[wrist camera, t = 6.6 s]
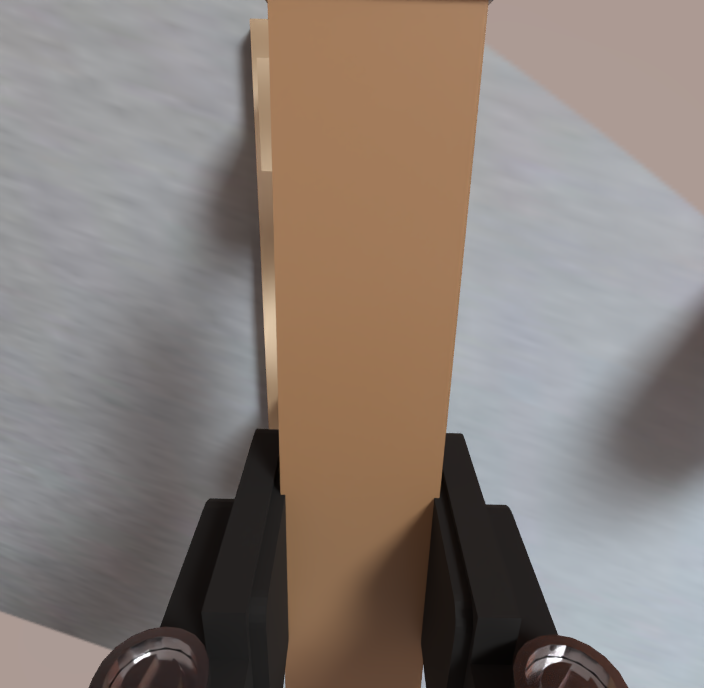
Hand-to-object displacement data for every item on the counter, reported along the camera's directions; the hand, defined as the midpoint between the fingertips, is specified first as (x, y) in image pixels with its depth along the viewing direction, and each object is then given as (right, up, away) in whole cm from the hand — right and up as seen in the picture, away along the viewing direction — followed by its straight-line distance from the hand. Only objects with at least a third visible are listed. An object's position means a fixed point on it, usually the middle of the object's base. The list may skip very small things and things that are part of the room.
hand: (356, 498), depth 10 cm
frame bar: (0, +1, +1) cm, 1 cm away
